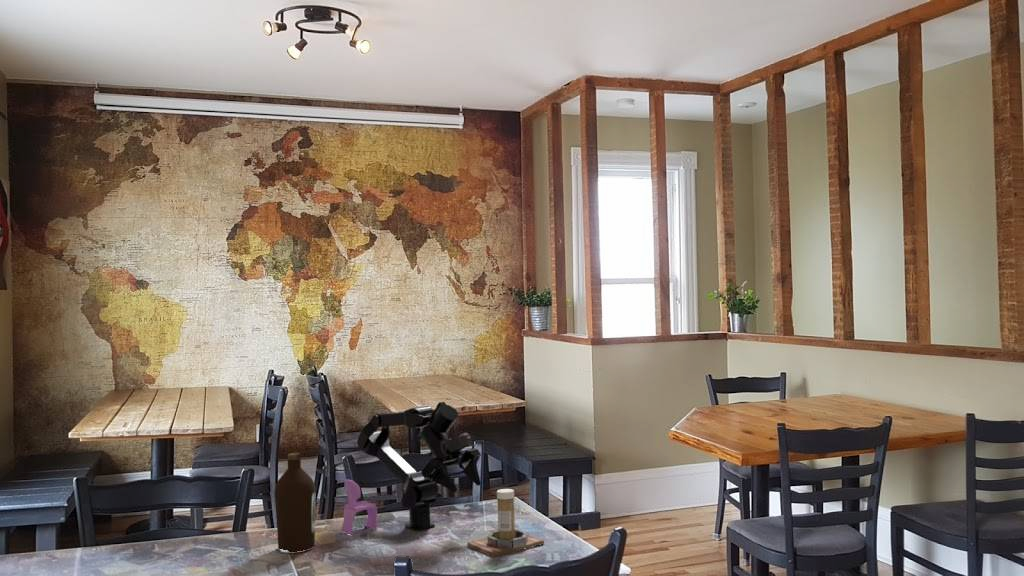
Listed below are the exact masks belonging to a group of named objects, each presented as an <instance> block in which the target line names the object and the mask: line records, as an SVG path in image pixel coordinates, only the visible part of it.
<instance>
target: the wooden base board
mask: <svg viewBox="0 0 1024 576" xmlns="http://www.w3.org/2000/svg"><path fill="white" fill-rule="evenodd" d="M466 544H467V547H468V548H470V549H473V550H476V551H478V552H480V553H483V554H484V555H487V556H490V557H493V558H496V557H500V556H503V555H507V554H511V553H512V554H513V553H514V552H515V551H516V552H520V551H523V550H522V549H524V548H528V549H530V548H529V547H532V546H536V545H540V544H544V545H545V540H543V539H541V538H539V537H536V536H533V535H530V534H528V541H527V543H526V545H524V546H520V547H516V548H495V547H493V546H490V545H488V540H487V537H485V538H480V539H475V540H471V541H468V542H467V543H466ZM540 546H541V545H540ZM536 547H537V546H536ZM532 548H533V547H532ZM519 550H520V551H519ZM524 550H525V549H524ZM516 552H515V553H516Z"/></svg>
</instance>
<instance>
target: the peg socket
mask: <svg viewBox="0 0 1024 576" xmlns="http://www.w3.org/2000/svg"><path fill="white" fill-rule="evenodd" d="M528 533H529V532H527V531H524V530H521V529H517V528H515V539H499V529H498V530H494V531H490V532H489V534H487V537H486V538H487V540H488V545H490V546H493V547H495V548H516V547H520V546H524V545H526V543H527V541H528V535H529V534H528Z"/></svg>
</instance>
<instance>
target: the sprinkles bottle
mask: <svg viewBox="0 0 1024 576" xmlns="http://www.w3.org/2000/svg"><path fill="white" fill-rule="evenodd" d="M496 498H497V527H498V530H499V539H515V529H516V518H515V501H514V499H515V490H514V489H511V488H501V489H497V491H496Z"/></svg>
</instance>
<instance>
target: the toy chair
mask: <svg viewBox="0 0 1024 576" xmlns="http://www.w3.org/2000/svg"><path fill="white" fill-rule="evenodd" d="M343 486H344V489H345V491H346V497H347V502H348V503H346V504H344V508H343V522H342V525H341V529H340V531H342V532H345V533H347V534H350V535H352V536H353V524H354V519H355V516H356V514H357V513H359V512H362V511H364V510H366V512H367V519H366V521H365V524H364V527H365V526H367V527H366V528H368V527H370V528H372V529H371V530H373V529H375V530H374V531H378V508H377V504H376V503H371V502H369V501H367V500H361V501H358V499H360V498H361V496H362V493H361V487H360V485H359V484H358V483H357V482H355V480H352V479H349V478H347V479H345V481H344V485H343ZM370 528H369V529H370Z"/></svg>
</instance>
